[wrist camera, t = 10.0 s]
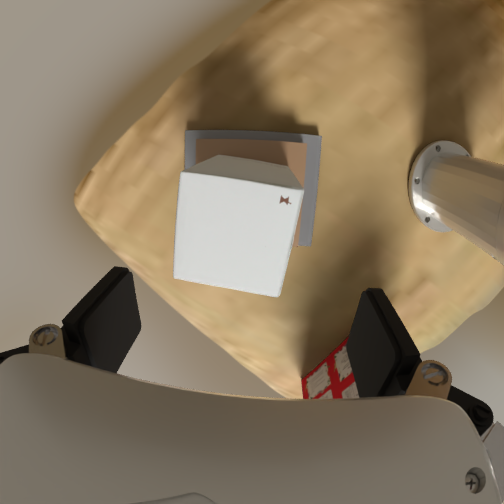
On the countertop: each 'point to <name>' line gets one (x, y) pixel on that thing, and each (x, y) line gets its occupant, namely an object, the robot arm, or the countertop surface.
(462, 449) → the robot arm
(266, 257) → the supplement box
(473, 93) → the countertop surface
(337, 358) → the food packaging
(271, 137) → the pedestal
